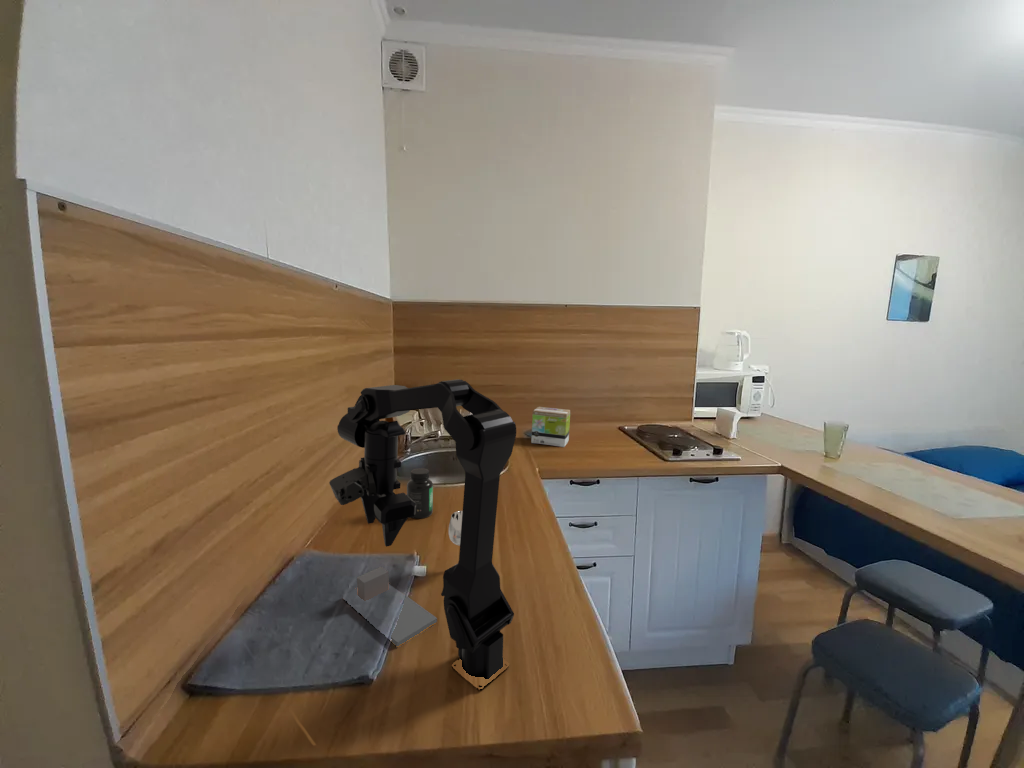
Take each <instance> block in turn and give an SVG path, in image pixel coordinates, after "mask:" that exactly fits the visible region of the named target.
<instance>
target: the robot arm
mask: <svg viewBox="0 0 1024 768" xmlns="http://www.w3.org/2000/svg"><path fill="white" fill-rule="evenodd" d="M457 407H462V408H463V409H464V410H465V411H467V412H469V413H471V414H469V415H465V416H463V415H462V414H461V412H459V410H458V409H457ZM425 409H438V410H439V412H441V417H442V425H443V428H444V430H445V431H446V432H447V433H448V435H449V436H450V437H451V439H453V441H454V442H455V456H456V458H457V460H458V461H459V463H460V465H461V467H462V469H463V471H464V474H465V475H464V487H463V488H464V490H463V501H462V502H463V503H462V511H463V512H462V526H461V539H460V546H459V553H458V554H459V555H458V563H456V564H454V565H453V566H451V567H449V568H447V569H445V570H444V573H443V576H442V581H443V584H442V585H443V587H442V591H441V593H440V594H441V595H440V596H442V597H443V608H444V609H443V611H444V614H445V618H446V619H445V620H446V624H447V628H448V632H449V633H448V634H449V638H450V639H452V640H453V641H454V642H455V647H456V648H457V650H458V651H457V653H458V654H457V655H458V659H459V658H460V659H461V660H462V667H463V669H464V670H465V671H466V673H468V674H469V675H471V676H475V677H484V678H485V679H489V678H490V677H491V676H492V675H493V674H495V673H496V672H497V671H498V670H499V669H501V668H502V667H503V658H504V634H503V633H502V632H501V630H503V629H504V628H505V627H507V626H508V625H511V624H512V621H513V619H514V616H515V613H514V611H513V608H511V605H510V604H509V602H508V600H507V597H505V594H504V593H503V591H502V589H501V579H500V578H501V577H500V573H499V572H498V570H497V569H496V567H495V566H494V564H493V555H494V554H493V552H494V542H495V532H496V521H497V510H498V509H497V508H498V502H499V501H498V498H499V488H500V487H499V486H500V477H501V473H502V471H503V469H504V468H505V466H506V464H507V462H508V461H509V459H510V457H511V456H512V452H513V450H514V445H515V442H516V438H517V425H516V422H515V421H513V418H512V417H511V415H510V414H508V412H507V411H504V410H503V409H502V408H501V407H500V405H499V404H498V403H496V402H495V401H494V400H492V399H491V398H489V397H487V396H486V395H484V394H482V393H480V392H479V391H477V390H476V389H474V388H473V386H472V385H471V384H469V382H468V381H466V380H463V379H450V380H449V379H448V380H442V381H438V382H437V383H433V384H427V385H421V386H420V385H419V386H414V387H407V386H406V385H398V384H393V385H392V384H391V385H382V386H374V387H366V388H363V389H362V390H361V391H360V395H359V396H358V397H357V400H356V402H355V404H354V405H353V406H350V407H347V413H346V414H344V415H343V416H342V417H341V418H340V420H339V423H338V425H337V429H336V430H337V433H338V435H339V437H340V438H342V439H343V440H344V441H346V442H348V443H350V444H353V445H355V446H357V447H359V448H363V449H364V451H363V452H364V455H363V456H364V457H360V460H359V461H358V467H355V468H353V469H351V470H348V471H346V472H344V473H341V474H340V475H338V476H335V477H334V478H332V479H331V480H330V481H329V483H328V484H329V486H330V488H331V491H332V493H333V496H334V498H335V499H336V500H337V501H338V503H339V505H341V506H344V505H345V506H346V505H348V504H349V503H352V502H355V501H356V500H358V499H361V503H362V506H363V511H364V515H365V518H366V522H367V523H368V525H369V524H373V523H375V520H376V521H378V522H379V523H380V524H381V526H382V527H381V528H382V534H383V541H384V546H385V547H390V546H392V545H393V544H394V541H395V540H396V538H397V537H398V534H399V533H400V531H401V529H402V528H403V526H404V524H405V523H406V521H407V520H408V519H410V518H411V517H412V516H414V515H415V514H416V503H415V502H414V501H413V500H412V499H411V498H410V497H409V496H407V493H405V492H400V493H395V491H394V490H398V489H401V482H400V481H399V480H398V478H397V476H398V473H397V472H398V468H401V467H402V461H401V460H400V459H398V451H399V450H398V446H399V445H398V444H399V436H403V435H405V434H406V430H405V429H404V428H403V427H402V426H401V425H400V423H399V422H398V420H392V421H387V420H385V419H390V418H396V417H400V416H403V415H405V414H409V413H410V411H417V410H418V411H419V410H425Z"/></svg>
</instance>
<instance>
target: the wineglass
mask: <svg viewBox="0 0 1024 768" xmlns="http://www.w3.org/2000/svg"><path fill="white" fill-rule="evenodd" d="M462 512H463V510H458V511H454V512H453V513H452V514H451V516H450V518H449V519H450V520H449V524H448V536H449V540H450V542H452V543H453V545H456V546H458V547H460V539H461V526H462Z"/></svg>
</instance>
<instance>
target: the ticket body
mask: <svg viewBox="0 0 1024 768" xmlns="http://www.w3.org/2000/svg"><path fill="white" fill-rule="evenodd" d="M436 622H437V623H438V618H437V617H436V616H435V615H434V614H432V613H431V612H429V611H428V610H426V609H425V608H424V607H423V606H421V605H420V604H418V603H417V602H416V601H415V600H413V599H412V598H410V597H409V596H408V595H406V598H405V600H404V605H403V608H402V611H401V613H400V615H399V619H398V621H397V625H396V627H395V629H394V631H393V633H392V635H391V639H392V642H393V643H394V644H395V645H396V646H399V645H400V644H402V643H404V642H406V641H407V640H409V639H410V638H412V637H414V636H415V635H417V634H419V633H420V632H421V631H423V630H424V629H426V628H427V627H429V626H430V625H432V624H434V623H436Z"/></svg>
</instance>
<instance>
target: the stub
mask: <svg viewBox="0 0 1024 768" xmlns="http://www.w3.org/2000/svg"><path fill="white" fill-rule="evenodd" d="M389 575H390V574H389V570H388V569H386V568H384V567H383V566H379V567H377V568H375V569H372V570H371V571H368V572H366V573H364V574H362V575H359V576H357V577H356V583H357V584H356V586H357V587H356V588H357V595H358V596H359V597H360V598H361V599H363V600H364V601H366V600H369V599H371V598H373V597H374V596H377V595H378V594H381V593H383V592H385V591H387V590H389V583H390V580H389V578H390V576H389Z"/></svg>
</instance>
